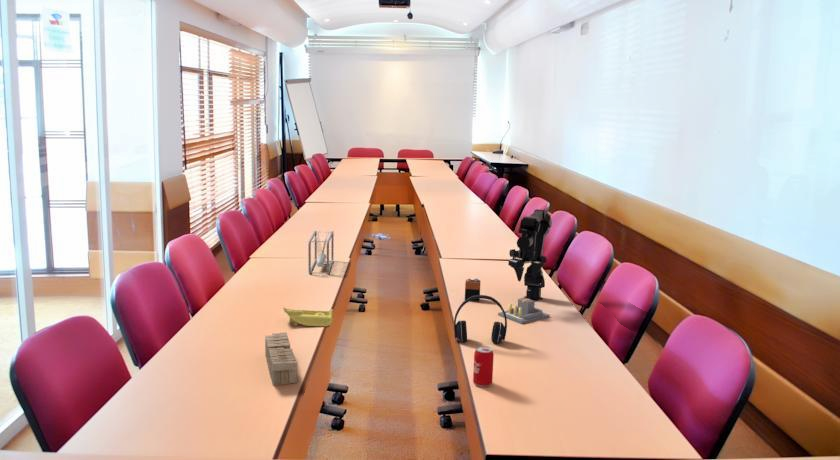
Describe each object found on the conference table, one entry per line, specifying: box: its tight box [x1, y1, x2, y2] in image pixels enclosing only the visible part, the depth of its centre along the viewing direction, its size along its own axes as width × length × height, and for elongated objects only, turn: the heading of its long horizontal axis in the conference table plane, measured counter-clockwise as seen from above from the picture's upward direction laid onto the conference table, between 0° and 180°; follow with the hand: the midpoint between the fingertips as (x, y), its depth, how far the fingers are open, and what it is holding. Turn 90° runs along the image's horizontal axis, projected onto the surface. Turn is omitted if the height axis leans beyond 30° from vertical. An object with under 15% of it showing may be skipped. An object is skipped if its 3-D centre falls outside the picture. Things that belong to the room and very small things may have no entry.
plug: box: [517, 297, 536, 315], centre depth 286 cm, size 4×6×6 cm
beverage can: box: [472, 345, 495, 388], centre depth 215 cm, size 6×6×12 cm
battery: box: [464, 278, 481, 302], centre depth 307 cm, size 4×7×10 cm, turn 83°
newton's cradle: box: [307, 230, 335, 275], centre depth 357 cm, size 30×10×18 cm, turn 3°
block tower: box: [264, 332, 298, 386], centre depth 223 cm, size 8×8×29 cm
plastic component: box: [283, 306, 334, 328], centre depth 270 cm, size 20×7×10 cm
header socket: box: [497, 303, 551, 325], centre depth 285 cm, size 17×14×6 cm
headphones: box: [453, 294, 508, 344], centre depth 252 cm, size 20×7×18 cm, turn 88°
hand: (526, 279), depth 295 cm, fingers open, 9 cm apart
